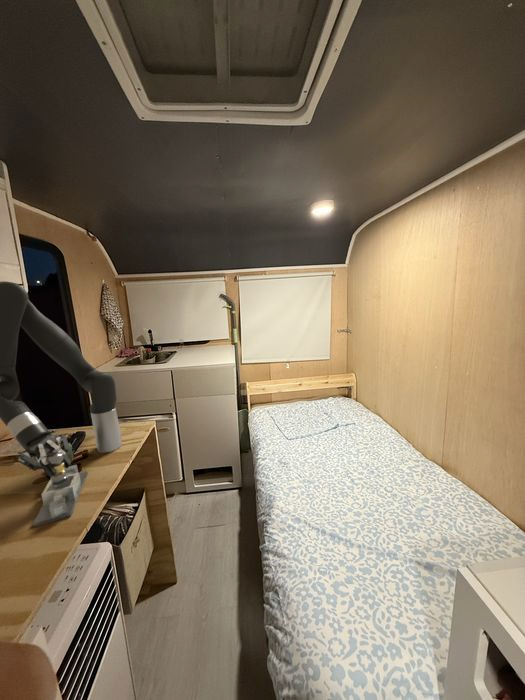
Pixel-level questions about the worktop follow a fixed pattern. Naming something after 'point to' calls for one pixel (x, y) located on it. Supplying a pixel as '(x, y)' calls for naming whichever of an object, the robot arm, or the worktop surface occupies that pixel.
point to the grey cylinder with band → (57, 467)
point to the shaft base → (69, 504)
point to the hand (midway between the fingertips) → (61, 470)
